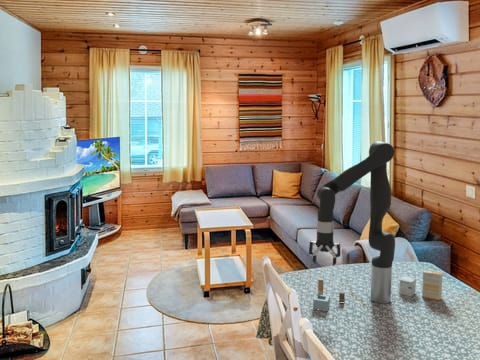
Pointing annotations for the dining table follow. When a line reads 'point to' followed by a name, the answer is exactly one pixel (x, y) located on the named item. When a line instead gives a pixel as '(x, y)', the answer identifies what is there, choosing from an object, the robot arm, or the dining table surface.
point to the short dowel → (341, 297)
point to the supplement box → (432, 284)
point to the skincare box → (407, 286)
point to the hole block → (321, 302)
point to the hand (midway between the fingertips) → (324, 264)
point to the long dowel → (320, 286)
